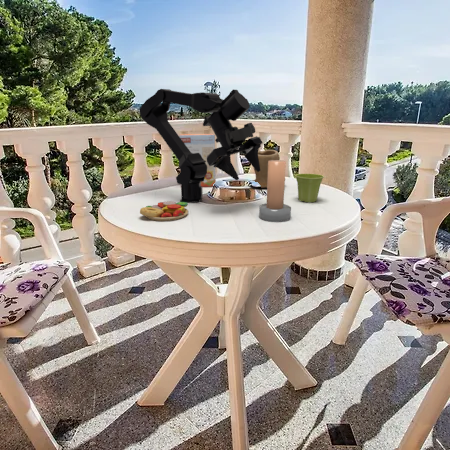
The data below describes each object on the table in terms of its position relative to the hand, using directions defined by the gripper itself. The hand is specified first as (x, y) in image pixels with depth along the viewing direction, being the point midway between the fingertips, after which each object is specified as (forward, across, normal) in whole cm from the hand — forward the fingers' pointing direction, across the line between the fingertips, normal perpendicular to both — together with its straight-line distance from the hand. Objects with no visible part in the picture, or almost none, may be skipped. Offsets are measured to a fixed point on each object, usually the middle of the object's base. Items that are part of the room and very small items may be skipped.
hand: (248, 175), depth 98 cm
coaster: (+15, -1, -2) cm, 15 cm away
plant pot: (+15, +23, +5) cm, 28 cm away
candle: (+12, 0, -3) cm, 13 cm away
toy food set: (-1, -22, +16) cm, 27 cm away
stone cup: (+2, +29, +24) cm, 38 cm away
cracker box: (-12, +10, +40) cm, 43 cm away
